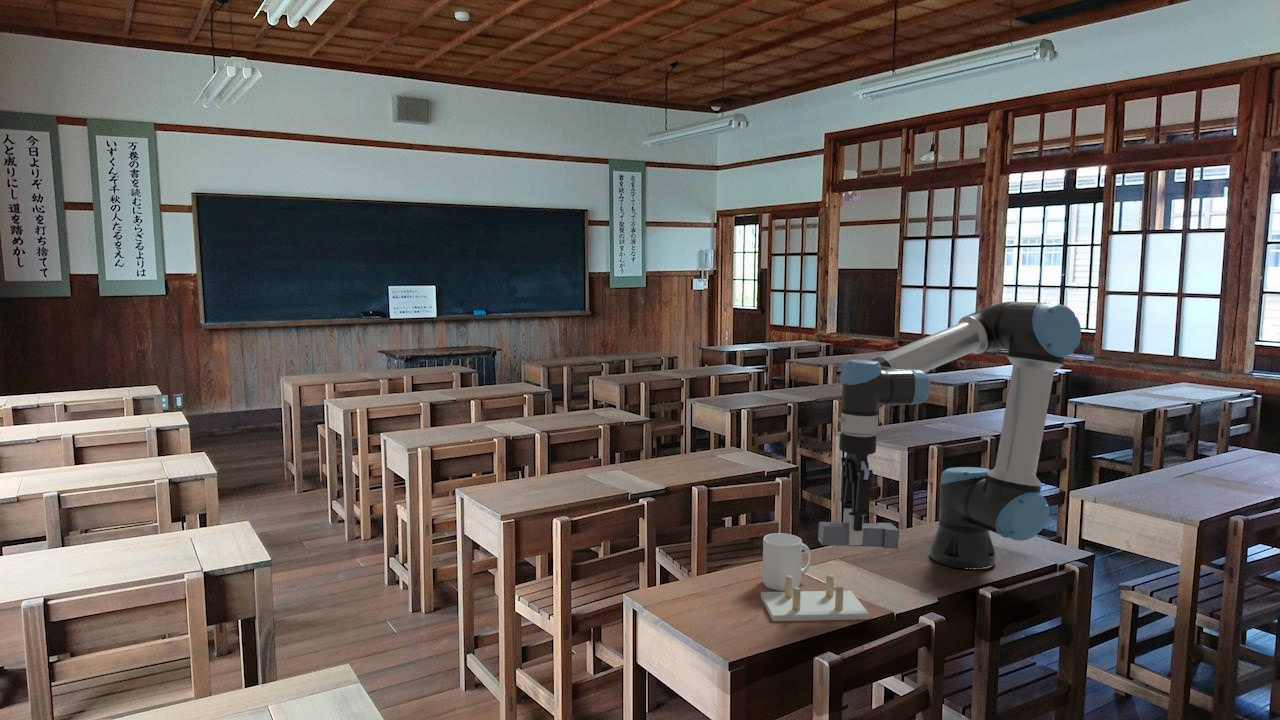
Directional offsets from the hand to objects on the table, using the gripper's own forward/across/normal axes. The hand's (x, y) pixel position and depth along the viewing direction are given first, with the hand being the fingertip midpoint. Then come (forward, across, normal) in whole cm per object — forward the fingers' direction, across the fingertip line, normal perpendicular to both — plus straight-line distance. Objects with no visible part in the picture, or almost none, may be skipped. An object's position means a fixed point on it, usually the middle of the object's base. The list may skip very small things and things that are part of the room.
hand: (852, 541), depth 170 cm
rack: (+14, +2, -8) cm, 16 cm away
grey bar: (+1, 0, +1) cm, 1 cm away
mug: (+14, -11, -10) cm, 21 cm away
